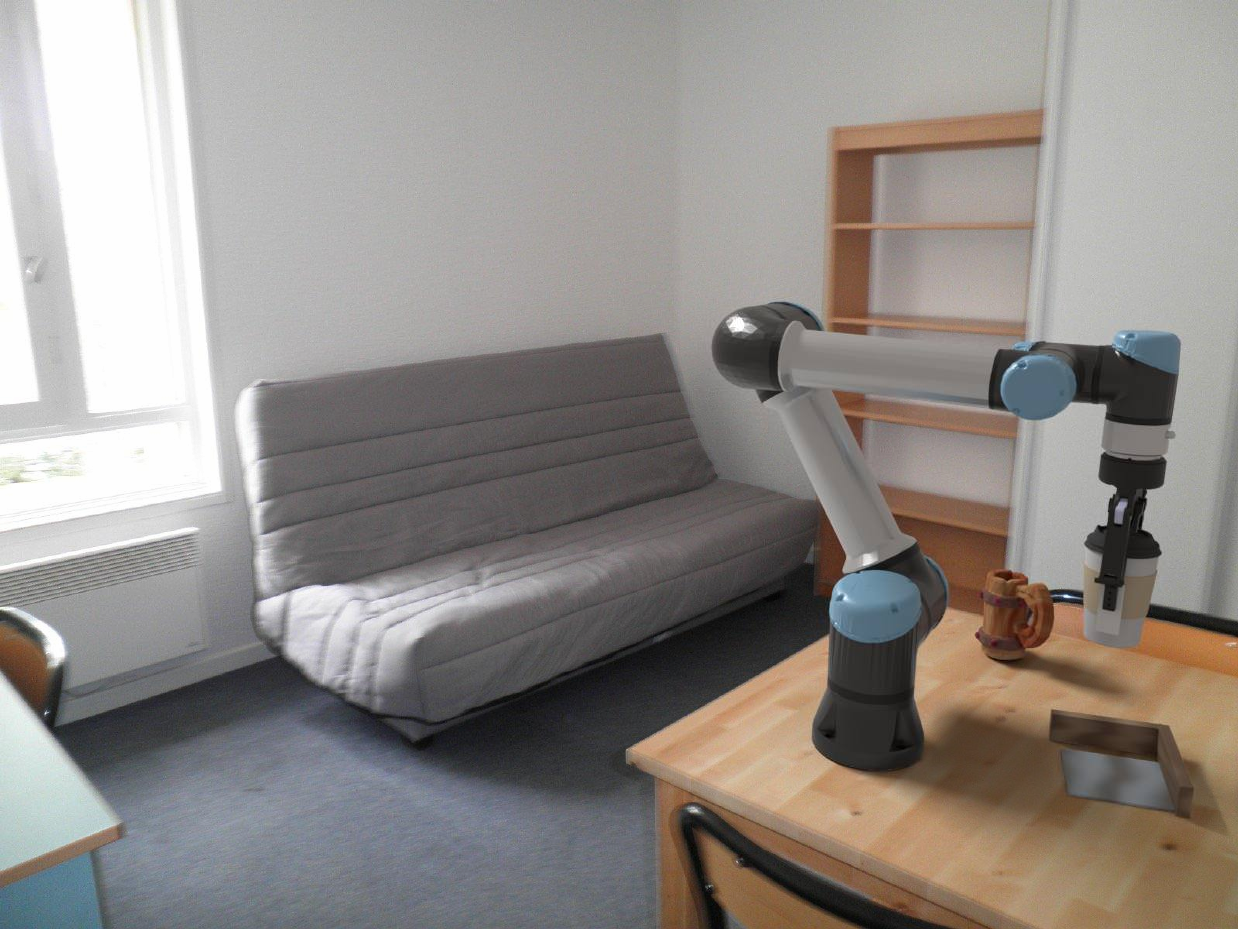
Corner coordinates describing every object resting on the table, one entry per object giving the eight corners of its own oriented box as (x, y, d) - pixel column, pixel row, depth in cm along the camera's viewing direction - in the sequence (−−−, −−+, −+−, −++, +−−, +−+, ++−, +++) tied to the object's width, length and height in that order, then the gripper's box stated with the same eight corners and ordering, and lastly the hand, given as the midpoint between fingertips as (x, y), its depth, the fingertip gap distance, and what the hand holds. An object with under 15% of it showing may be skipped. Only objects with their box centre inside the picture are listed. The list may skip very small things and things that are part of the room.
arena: (1057, 796, 125) (1060, 767, 124) (1048, 735, 141) (1051, 709, 140) (1189, 818, 120) (1194, 788, 120) (1165, 752, 136) (1169, 725, 135)
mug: (963, 647, 171) (970, 564, 167) (1003, 641, 173) (1010, 559, 170) (1021, 683, 157) (1029, 592, 154) (1063, 676, 160) (1073, 587, 156)
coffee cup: (1149, 632, 134) (1163, 525, 130) (1149, 657, 126) (1164, 543, 123) (1076, 620, 138) (1088, 516, 135) (1071, 643, 130) (1084, 533, 127)
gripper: (1155, 473, 116) (1131, 655, 121) (1177, 443, 133) (1156, 603, 138) (1085, 465, 120) (1065, 640, 125) (1116, 436, 137) (1097, 592, 142)
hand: (1113, 621), depth 131 cm, fingers closed on coffee cup, 8 cm apart
